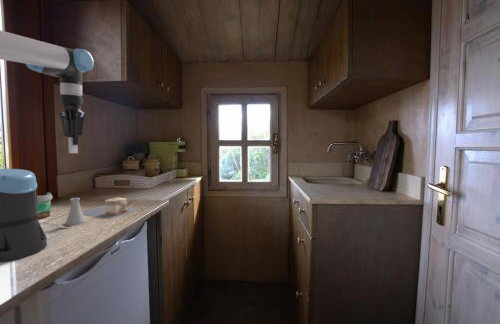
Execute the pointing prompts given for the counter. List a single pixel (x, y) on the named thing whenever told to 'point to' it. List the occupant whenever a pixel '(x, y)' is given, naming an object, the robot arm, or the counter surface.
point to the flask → (75, 213)
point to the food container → (44, 205)
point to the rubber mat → (103, 212)
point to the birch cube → (116, 206)
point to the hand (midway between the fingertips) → (73, 153)
